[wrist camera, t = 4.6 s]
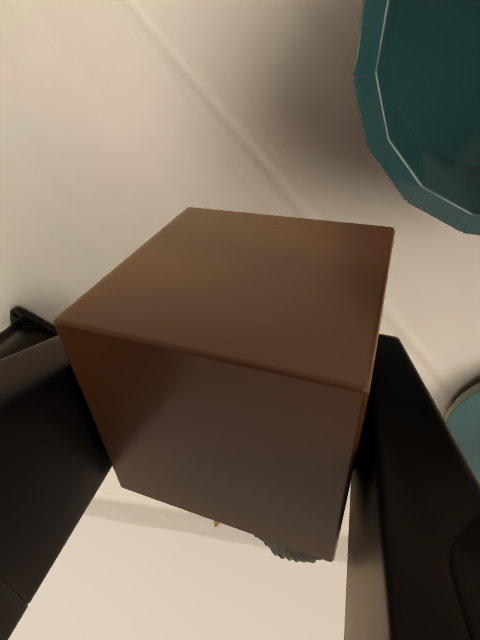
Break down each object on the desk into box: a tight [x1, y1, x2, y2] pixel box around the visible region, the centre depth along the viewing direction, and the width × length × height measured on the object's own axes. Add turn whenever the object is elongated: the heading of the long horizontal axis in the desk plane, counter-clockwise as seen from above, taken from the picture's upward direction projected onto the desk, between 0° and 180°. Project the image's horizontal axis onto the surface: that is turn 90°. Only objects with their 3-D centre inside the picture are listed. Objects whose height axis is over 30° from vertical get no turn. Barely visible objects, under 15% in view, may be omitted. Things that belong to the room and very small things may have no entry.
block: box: [53, 207, 395, 562], centre depth 7 cm, size 4×4×4 cm
